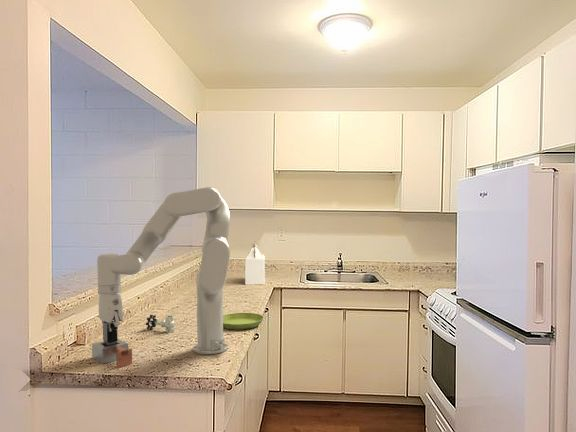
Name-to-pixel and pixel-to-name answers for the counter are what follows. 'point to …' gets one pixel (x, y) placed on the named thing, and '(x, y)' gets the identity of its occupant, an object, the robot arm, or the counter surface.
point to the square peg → (106, 334)
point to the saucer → (242, 320)
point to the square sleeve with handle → (112, 353)
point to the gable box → (255, 266)
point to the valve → (162, 323)
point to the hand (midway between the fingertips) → (110, 340)
